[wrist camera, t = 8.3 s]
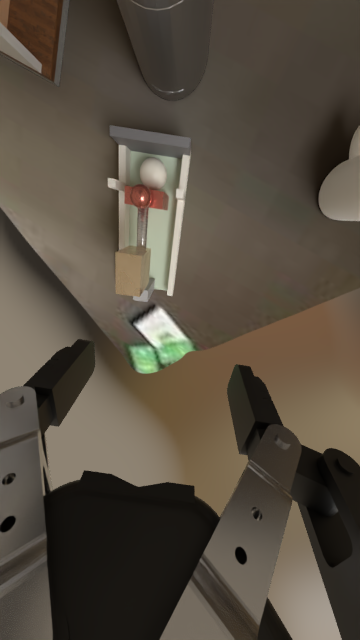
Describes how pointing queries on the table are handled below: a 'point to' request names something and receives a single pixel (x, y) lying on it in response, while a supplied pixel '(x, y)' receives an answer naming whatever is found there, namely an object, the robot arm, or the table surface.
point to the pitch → (160, 222)
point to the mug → (343, 187)
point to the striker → (138, 242)
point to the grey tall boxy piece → (34, 35)
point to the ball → (153, 173)
